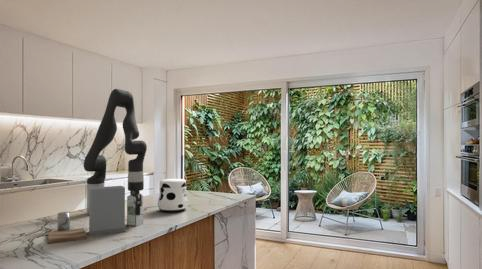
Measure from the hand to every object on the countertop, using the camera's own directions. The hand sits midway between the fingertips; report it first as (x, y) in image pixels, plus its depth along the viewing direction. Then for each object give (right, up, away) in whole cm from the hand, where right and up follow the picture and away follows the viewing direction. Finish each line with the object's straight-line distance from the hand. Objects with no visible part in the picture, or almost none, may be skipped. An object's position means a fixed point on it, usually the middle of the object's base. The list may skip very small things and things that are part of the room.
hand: (135, 213), depth 163 cm
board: (-23, -5, -21) cm, 32 cm away
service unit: (-9, -5, -13) cm, 17 cm away
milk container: (+11, -6, +33) cm, 36 cm away
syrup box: (0, -6, 0) cm, 6 cm away
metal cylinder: (-30, -5, -11) cm, 32 cm away
